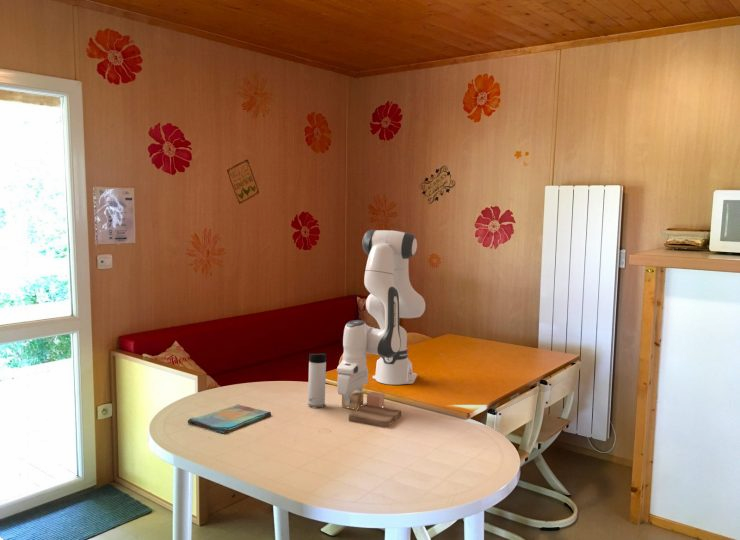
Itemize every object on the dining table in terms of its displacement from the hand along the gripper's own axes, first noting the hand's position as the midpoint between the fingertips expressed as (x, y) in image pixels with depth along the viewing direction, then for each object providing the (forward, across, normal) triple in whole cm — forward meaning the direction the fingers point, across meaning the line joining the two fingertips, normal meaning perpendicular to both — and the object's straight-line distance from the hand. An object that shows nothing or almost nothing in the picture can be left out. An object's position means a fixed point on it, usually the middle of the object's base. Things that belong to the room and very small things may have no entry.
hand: (353, 401), depth 221 cm
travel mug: (+2, +6, -12) cm, 14 cm away
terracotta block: (+2, -3, +8) cm, 9 cm away
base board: (+2, +9, +13) cm, 16 cm away
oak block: (+2, 0, 0) cm, 2 cm away
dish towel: (+3, +34, -30) cm, 45 cm away
